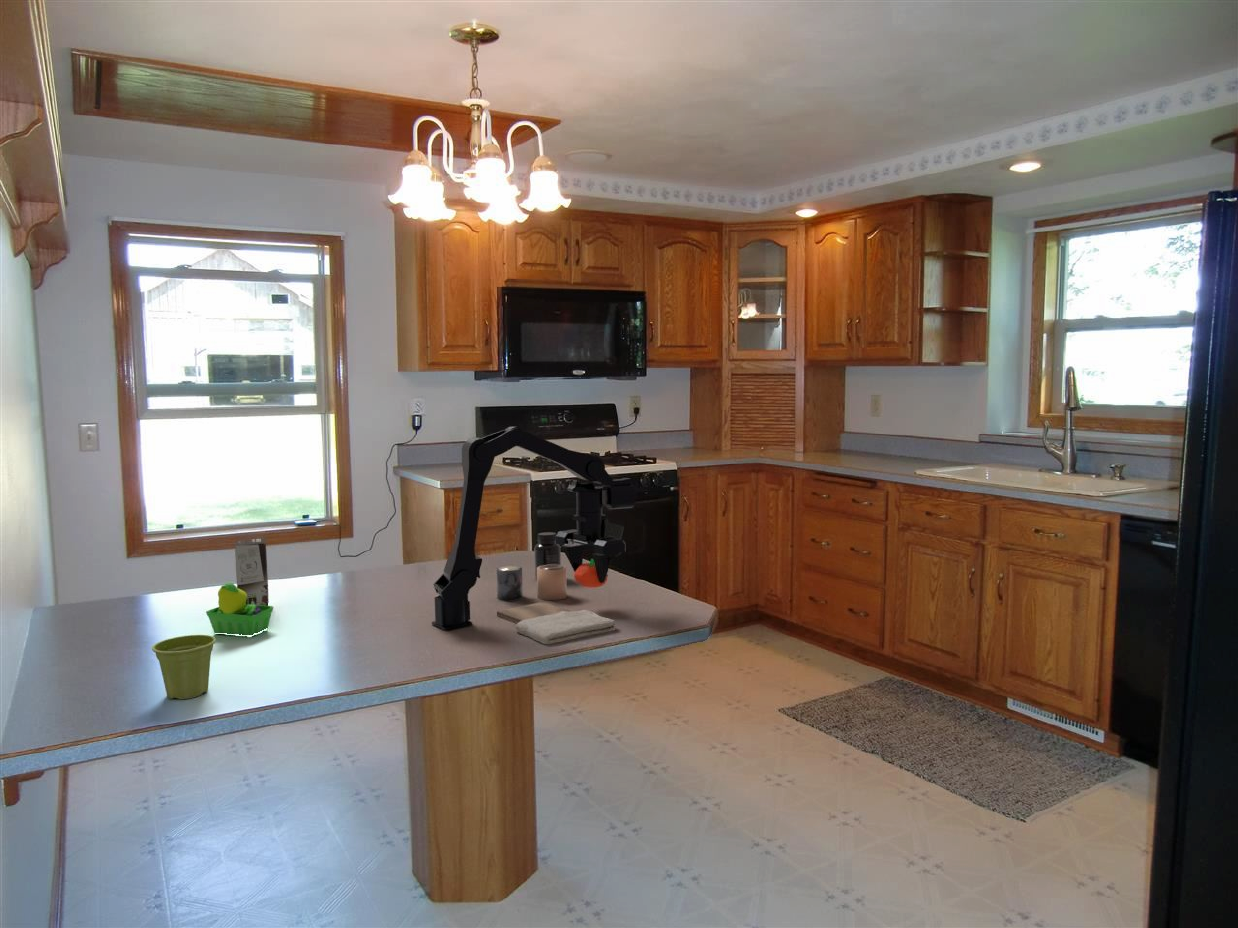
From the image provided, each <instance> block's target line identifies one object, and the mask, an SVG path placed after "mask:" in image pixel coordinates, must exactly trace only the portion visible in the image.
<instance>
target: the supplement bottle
mask: <svg viewBox="0 0 1238 928" xmlns="http://www.w3.org/2000/svg"><path fill="white" fill-rule="evenodd" d="M556 535H557V533H556V532H551V531H549V532H540V533H537V542H538V543H537V544H535V546H534V548H533V550H534V551H533V552H534V554H533V555H534V577H535V580H536V581H537V567H539V566H543V565H562V562H561V561H562V557H561V555H562V554H561V548H560V546H561V545H560V544H556Z"/></svg>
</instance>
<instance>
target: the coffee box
mask: <svg viewBox="0 0 1238 928" xmlns="http://www.w3.org/2000/svg"><path fill="white" fill-rule="evenodd" d="M234 547H235V548H234V552H235V556H234V557H235V572H236V587H237V588H238V589H240V590H243V591H244V592H245V593H246V594H247V600H246V604H248V605H251V604H252V603H254V605H263V606H268V603H269V580H268V579H269V576H268V575H269V574H268V573H269V572H268V557H267V543H266V537H253V538H244V539H236V540H235V545H234Z"/></svg>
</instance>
